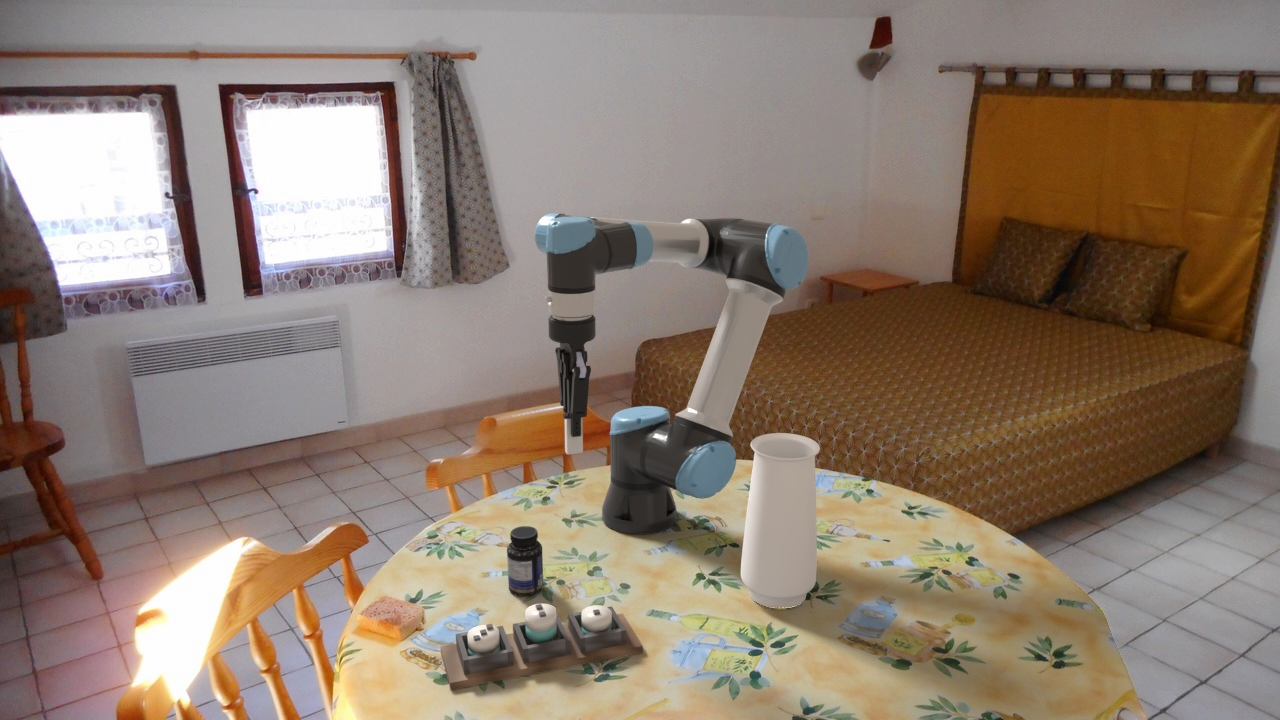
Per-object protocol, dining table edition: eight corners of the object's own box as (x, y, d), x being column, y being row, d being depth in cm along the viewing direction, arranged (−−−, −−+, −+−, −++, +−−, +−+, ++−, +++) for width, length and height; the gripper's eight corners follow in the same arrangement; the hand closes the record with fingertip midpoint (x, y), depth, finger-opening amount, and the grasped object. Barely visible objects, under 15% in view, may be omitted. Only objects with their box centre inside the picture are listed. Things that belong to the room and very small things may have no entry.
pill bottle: (529, 576, 177) (527, 520, 173) (550, 588, 172) (549, 531, 169) (501, 588, 172) (499, 531, 169) (522, 601, 168) (520, 543, 165)
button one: (606, 624, 159) (606, 600, 158) (615, 640, 155) (615, 616, 153) (578, 630, 158) (577, 606, 156) (586, 646, 153) (586, 621, 152)
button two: (552, 623, 156) (551, 599, 154) (560, 639, 151) (559, 614, 150) (522, 629, 154) (522, 604, 153) (529, 645, 150) (528, 620, 148)
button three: (496, 645, 153) (495, 620, 152) (503, 662, 149) (501, 636, 148) (466, 650, 152) (464, 625, 151) (471, 668, 148) (470, 642, 146)
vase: (743, 572, 178) (749, 428, 170) (816, 580, 176) (825, 434, 167) (735, 610, 166) (741, 456, 158) (813, 618, 163) (823, 463, 155)
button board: (622, 619, 163) (622, 599, 162) (642, 652, 154) (642, 631, 153) (440, 652, 153) (439, 632, 152) (450, 690, 144) (449, 668, 143)
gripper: (539, 307, 161) (542, 440, 168) (559, 326, 150) (562, 469, 156) (583, 304, 164) (584, 435, 171) (606, 323, 152) (607, 463, 159)
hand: (574, 451), depth 164 cm, fingers closed
